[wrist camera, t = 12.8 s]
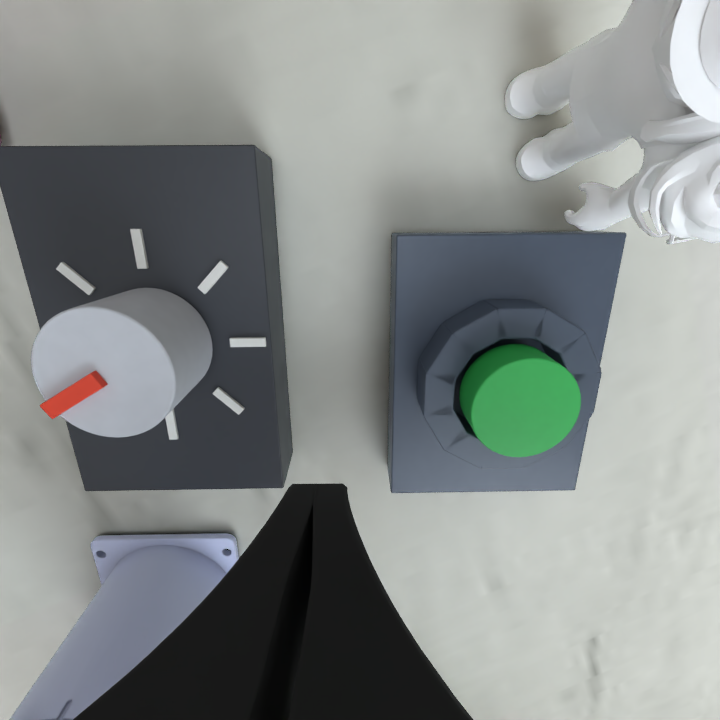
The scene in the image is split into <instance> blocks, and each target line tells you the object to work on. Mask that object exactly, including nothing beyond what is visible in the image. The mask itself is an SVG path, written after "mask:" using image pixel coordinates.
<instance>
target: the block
mask: <svg viewBox="0 0 720 720" xmlns="http://www.w3.org/2000/svg"><path fill="white" fill-rule="evenodd" d="M625 238H626V233H622V232H599V231H591V232H588V231H572V232H453V233H392V242H391V298H390V355H389V412H388V474H389V481H390V489H391V492H392V493H423V492H486V491H549V490H575V486H576V481H577V476H578V471H579V466H580V461H581V456H582V451H583V447H584V442H585V437H586V432H587V427H588V422H589V418H590V417H591V416H592V413H593V412H594V408H595V403H596V398H597V393H598V388H599V383H600V378H601V368H600V362H601V357H602V352H603V347H604V342H605V338H606V333H607V328H608V323H609V318H610V313H611V308H612V303H613V298H614V293H615V288H616V283H617V278H618V273H619V268H620V263H621V258H622V253H623V248H624V243H625ZM507 344H524V345H529V346H532V347H535V348H537V349H539V350H540V351H542V352H543V353H545V354H546V355H548V356H549V357H551V358H552V359H553V360H555V361H556V362H558V363H559V364H561V365H562V366H563V367H565V368H566V369H567V370H568V371H569V372H570V373H571V374H572V375H573V377H574V378H575V380H576V382H577V384H578V386H579V389H580V395H581V407H580V412H579V416H578V418H577V421H576V423H575V425H574V426H573V428H572V429H571V431H570V432H569V433H568V435H567V436H566V437H565V438H564V439H563V440H562V441H560V442H559V443H558V444H557V445H555V446H554V447H552V448H550V449H549V450H547V451H545V452H542V453H540V454H536V455H533V456H528V457H509V456H504V455H501V454H498V453H496V452H494V451H492V450H490V449H488V448H487V447H486V446H485V445H483V444H482V443H481V441H480V440H479V439H478V438H477V436H476V435H475V433H474V431H473V429H472V428H471V426H470V424H469V422H468V421H467V419H466V417H465V415H464V413H463V411H462V409H461V405H460V400H459V391H460V385H461V382H462V379H463V377H464V375H465V373H466V371H467V370H468V368H469V367H470V366H471V364H472V363H473V362H474V361H475V360H476V359H477V358H478V357H480V356H481V355H482V354H484V353H486V352H487V351H489V350H491V349H493V348H496V347H499V346H502V345H507Z"/></svg>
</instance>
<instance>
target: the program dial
mask: <svg viewBox="0 0 720 720" xmlns="http://www.w3.org/2000/svg"><path fill="white" fill-rule="evenodd" d="M212 351H213V348H212V340H211V335H210V332H209V329H208V327H207V325H206V323H205V321H204V320H203V318H202V317H201V315H200V314H199V313H198V312H197V310H196V309H195V308H194V307H193V306H191V305H190V304H189V303H188V302H187V301H185V300H184V299H182V298H181V297H179V296H177V295H175V294H173V293H171V292H168V291H165V290H162V289H156V288H137V289H132V290H129V291H125V292H122V293H119V294H116V295H113V296H109V297H106V298H103V299H100V300H96V301H93V302H90V303H87V304H84V305H80V306H77V307H74V308H71V309H68V310H65V311H63V312H60V313H59V314H57V315H55V316H53V317H52V318H51V319H50V320H48V321H47V322H46V323H45V324H44V326H43V327H42V328H41V329H40V331H39V333H38V334H37V336H36V338H35V341H34V343H33V347H32V352H31V367H32V372H33V377H34V379H35V382H36V385H37V387H38V389H39V391H40V393H41V394H42V396H43V397H44V399H45V400H46V401H45V402H44V403H42V404H41V405H40V407H41V408H42V409H43V410H44V411H45V412H46V413H47V414H48V415H49V416H50V417H51V418H52V419H54V418H55V417H57V416H58V415H60V416H61V417H62V418H64V419H65V420H66V421H68V422H69V423H71V424H72V425H74V426H76V427H78V428H80V429H82V430H84V431H87V432H89V433H92V434H96V435H100V436H106V437H129V436H134V435H138V434H141V433H144V432H146V431H148V430H150V429H152V428H153V427H155V426H156V425H158V424H159V423H160V422H161V421H162V420H163V419H164V418H165V417H166V416H167V415H168V414H169V413H170V412H171V411H172V410H173V409H174V408H175V406H176V405H177V404H178V403H179V402H180V401H181V400H182V399H183V398H184V397H185V396H186V395H187V394H188V393H189V392H190V391H191V390H192V389H193V388H194V387H195V386H196V385H197V384H198V383H199V381H200V380H201V379H202V378H203V377H204V376H205V374H206V372H207V371H208V369H209V366H210V364H211V359H212Z"/></svg>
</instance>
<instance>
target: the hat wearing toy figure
mask: <svg viewBox="0 0 720 720" xmlns="http://www.w3.org/2000/svg"><path fill="white" fill-rule="evenodd" d="M568 102H569V106H570V111H571V116H572V122H571V123H569V124H568V125H566V126H565V127H562V128H557V129H553V130H551V131H550V132H549V133H548V134H546V135H545V136H544V137H539V138H534V139H532V140H531V141H530V142H528V143H527V144H525V145H524V146H523V147H522V149H521V150H520V151H519V153H518V155H517V157H516V168H517V171H518V173H519V174H520V175H521V176H522V178H524V179H526V180H528V181H539V180H543V179H547V178H549V177H551V176H553V175H555V174H558V173H560V172H562V171H564V170H566V169H567V168H569V167H570V166H572V165H574V164H575V163H576V162H579V161H582V160H584V159H587V158H590V157H593V156H595V155H597V154H599V153H602V152H603V151H613V150H614V149H615V148H617V147H618V146H619V145H621V144H622V143H623V142H624V141H625V140H627V139H630V138H632V137H633V138H634V139H635V140H636V141H637V142H638V143H639V145H640V147H641V149H643V148H644V159H643V165H642V167H641V169H640V170H639V172H638V173H637V174H635V175H634V176H633V177H631V178H630V179H629V180H627V181H626V182H625V183H624V184H622V185H621V186H620V187H619V188H618V189H615V188H612V187H609V186H606V185H603V184H600V183H596V182H588V183H583V184H580V186H579V190H581V191H584V192H586V194H587V198H586V205H584V206H583V207H581V208H580V209H579V210H578V211H577V212H576V213H574V211H572V210H567V211H565V213H564V214H565V219H566V221H567V222H568V223H569V224H572V225H575V226H576V227H577V228H579V229H580V230H583V231H588V232H591V231H594V230H604V229H606V228H608V227H609V226H611V225H613V224H615V223H617V222H620V221H622V220H624V219H625V218H628V217H631V216H632V217H633V219H634V220H635V222H636V223H637V225H638V226H639V227H640V228H641V229H642V230H643V231H644V232H646V233H647V234H648V235H649V236H655V237H664V236H668V235H671V236H670V238H669V239H668V240H666V243H667V244H675V243H679V242H684V241H688V240H692V239H695V238H698V239H701V240H704V241H707V242H710V243H718V242H720V0H633V1H632V3H631V5H630V7H629V9H628V11H627V13H626V15H625V16H624V18H623V20H622V21H621V23H620V24H619V26H618V27H616V28H612V29H607V30H605V31H603V32H601V33H600V34H598V35H596V36H595V37H593V38H591V39H590V40H589V41H588V42H586V43H584V44H582V45H580V46H578V47H576V48H574V49H572V50H570V51H569V52H567V53H565V54H564V55H562V56H561V57H559V58H557V59H556V60H554V61H553V62H551V63H549V64H546V65H545V66H543V67H538V68H534V69H530V70H528V71H526V72H523V73H521V74H520V75H518V76H517V77H516V78H515V79H513V80H512V82H511V83H510V84H509V86H508V88H507V91H506V94H505V106H506V109H507V112H509V113H510V114H511V115H512V116H514V117H516V118H518V119H530V118H532V117H534V116H535V115H537V114H541V115H550V114H552V113H554V112H556V111H558V110H560V109H562V108H563V107H564V106H565V105H566V104H567V103H568ZM647 210H648V211H649V213H650V216H651V218H652V221H653V223H654V225H655V227H656V230H657V231H658V232H659V233H660V234H655V233H654V232H653V231H652V230H651V229H650V228H649V227H648V226H647V225H646V222H645V220H644V218H643V216H642V212H645V211H647ZM660 221H661V223H662V225H663V227H664V229H665V230H666V231H667V232H668V233H664V234H661V225H660ZM675 236H677V238H675Z"/></svg>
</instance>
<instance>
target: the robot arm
mask: <svg viewBox="0 0 720 720" xmlns="http://www.w3.org/2000/svg"><path fill="white" fill-rule="evenodd" d="M226 548H227V549H230V550H226ZM91 550H92V553H93V557H94V560H95V564H96V567H97V570H98V574H99V577H100V581H101V584H102V586H101V588H100V589H99V590H98V592H97V593H96V595H95V596H94V598H93V599H92V601H91V602H90V603H89V605H88V606H87V608H86V609H85V611H84V612H83V614H82V615H81V617H80V618H79V619H78V621H77V622H76V624H75V625H74V627H73V628H72V630H71V631H70V632H69V634H68V635H67V637H66V638H65V640H64V641H63V643H62V644H61V645H60V647H59V648H58V650H57V651H56V653H55V654H54V656H53V657H52V659H51V660H50V661H49V663H48V664H47V666H46V667H45V669H44V670H43V672H42V673H41V674H40V676H39V677H38V679H37V680H36V682H35V683H34V685H33V686H32V687H31V689H30V690H29V692H28V693H27V695H26V696H25V698H24V699H23V701H22V702H21V703H20V705H19V706H18V708H17V709H16V711H15V712H14V714H13V715H12V716H11V718H10V719H9V720H473V719H472V718H471V716H470V715H469V714H468V713H467V711H466V710H465V709H464V707H463V706H462V705H461V704H460V702H459V701H458V700H457V699H456V697H455V696H454V695H453V693H452V692H451V690H450V689H449V688H448V686H447V685H446V683H445V682H444V681H443V679H442V678H441V676H440V675H439V674H438V672H437V671H436V669H435V668H434V667H433V665H432V664H431V662H430V661H429V660H428V658H427V657H426V655H425V654H424V653H423V651H422V650H421V648H420V647H419V645H418V644H417V642H416V641H415V639H414V638H413V636H412V634H411V633H410V631H409V630H408V628H407V627H406V625H405V624H404V622H403V620H402V619H401V617H400V615H399V614H398V612H397V610H396V608H395V607H394V605H393V603H392V602H391V600H390V598H389V596H388V594H387V593H386V591H385V589H384V587H383V585H382V583H381V581H380V579H379V577H378V575H377V573H376V571H375V569H374V567H373V565H372V563H371V561H370V559H369V556H368V554H367V552H366V550H365V547H364V545H363V542H362V540H361V537H360V535H359V532H358V530H357V527H356V524H355V521H354V518H353V515H352V512H351V508H350V504H349V500H348V494H347V487H346V486H345V485H344V484H292V485H291V486H290V487H289V488H288V490H287V491H286V493H285V495H284V496H283V498H282V500H281V501H280V503H279V504H278V506H277V507H276V509H275V511H274V512H273V513H272V515H271V516H270V518H269V519H268V521H267V522H266V524H265V525H264V526H263V528H262V529H261V531H260V532H259V533H258V535H257V536H256V537H255V539H254V540H253V541H252V543H251V544H250V545H249V547H248V548H247V549H246V551H245V552H244V553H243V554H242V556H241V557H240V558H239V555H238V548H237V541H236V538H235V537H234V536H233V535H231V534H228V533H216V534H157V535H101V536H97V537H95V538H94V540H93V541H92V542H91Z"/></svg>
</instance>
